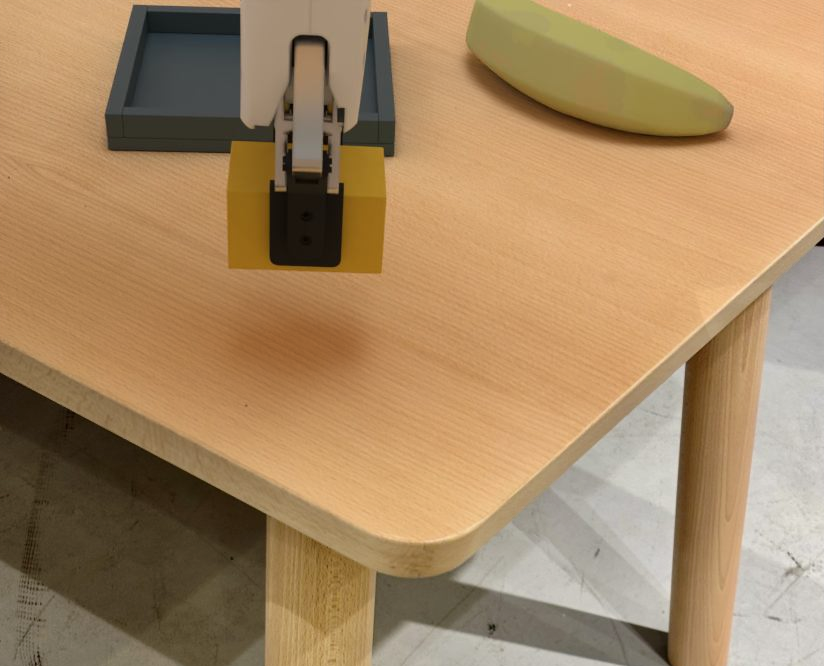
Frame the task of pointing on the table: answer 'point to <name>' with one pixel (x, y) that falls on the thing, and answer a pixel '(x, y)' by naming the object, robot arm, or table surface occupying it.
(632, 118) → the banana
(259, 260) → the yellow block
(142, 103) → the tray
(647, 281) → the table surface
